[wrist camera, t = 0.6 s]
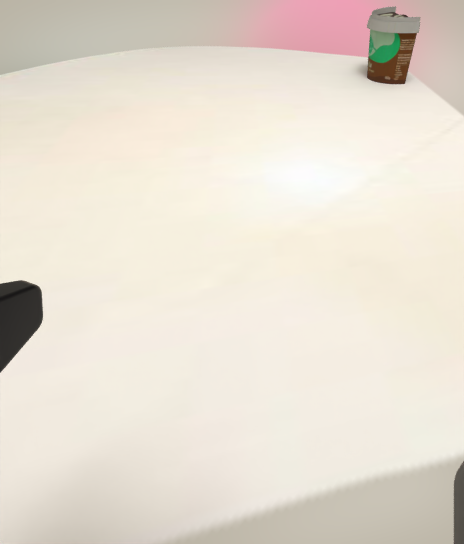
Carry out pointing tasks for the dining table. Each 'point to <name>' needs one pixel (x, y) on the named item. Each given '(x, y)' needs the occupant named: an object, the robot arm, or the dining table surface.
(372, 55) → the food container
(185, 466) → the dining table surface
